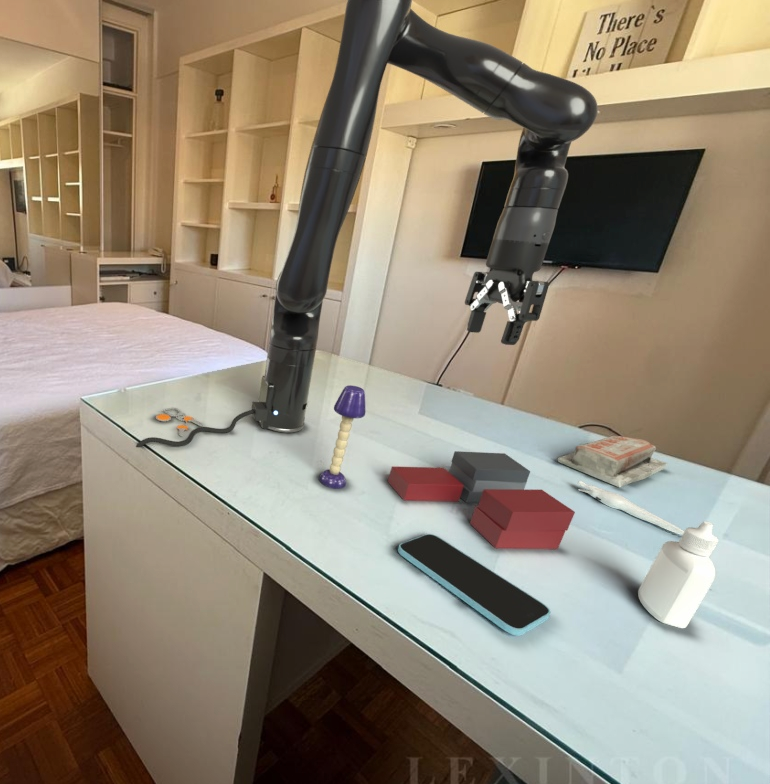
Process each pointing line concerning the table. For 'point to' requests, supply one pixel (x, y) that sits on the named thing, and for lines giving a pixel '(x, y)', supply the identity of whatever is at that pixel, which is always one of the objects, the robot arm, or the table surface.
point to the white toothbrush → (627, 507)
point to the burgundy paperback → (425, 484)
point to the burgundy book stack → (521, 519)
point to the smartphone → (475, 584)
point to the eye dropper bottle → (680, 577)
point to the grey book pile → (486, 473)
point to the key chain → (182, 427)
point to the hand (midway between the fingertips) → (489, 337)
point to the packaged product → (615, 460)
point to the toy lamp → (344, 432)
